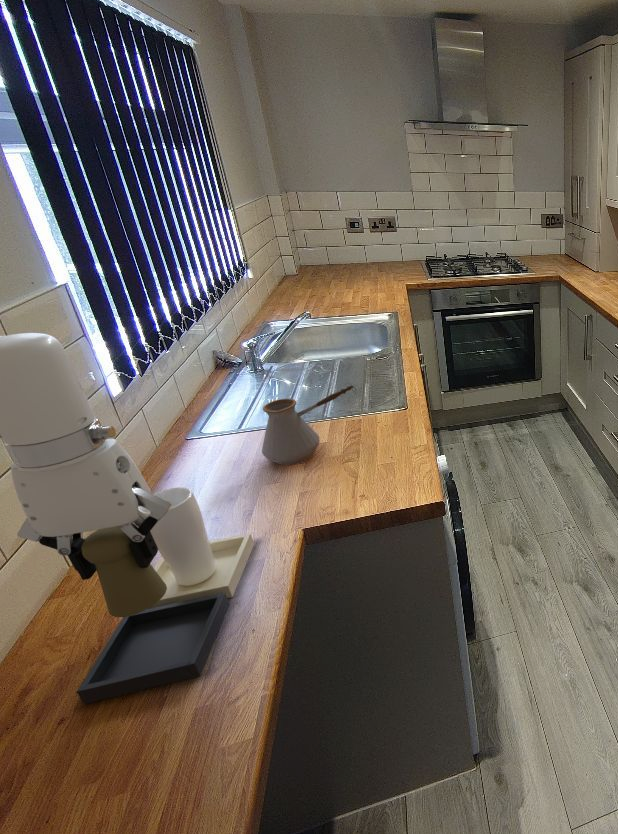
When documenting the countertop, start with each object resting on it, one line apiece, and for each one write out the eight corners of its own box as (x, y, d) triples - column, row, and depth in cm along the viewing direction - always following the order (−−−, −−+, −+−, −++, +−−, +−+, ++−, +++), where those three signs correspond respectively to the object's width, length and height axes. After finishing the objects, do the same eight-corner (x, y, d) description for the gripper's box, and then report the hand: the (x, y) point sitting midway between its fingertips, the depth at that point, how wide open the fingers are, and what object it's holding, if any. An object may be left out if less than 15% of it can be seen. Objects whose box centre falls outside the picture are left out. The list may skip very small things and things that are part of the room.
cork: (142, 617, 66) (107, 549, 62) (95, 617, 66) (57, 549, 62) (178, 581, 72) (148, 516, 67) (134, 581, 72) (102, 516, 67)
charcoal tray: (84, 704, 66) (75, 691, 65) (131, 625, 77) (125, 613, 76) (200, 675, 69) (194, 663, 68) (229, 604, 80) (225, 592, 79)
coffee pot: (260, 473, 112) (239, 411, 106) (270, 447, 122) (252, 389, 116) (367, 454, 119) (353, 395, 113) (369, 431, 129) (356, 375, 122)
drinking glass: (217, 554, 89) (188, 481, 83) (227, 575, 85) (196, 499, 78) (168, 575, 85) (133, 499, 79) (176, 598, 80) (139, 520, 74)
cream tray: (135, 618, 78) (129, 606, 77) (170, 560, 89) (165, 549, 88) (232, 597, 81) (227, 585, 80) (254, 544, 92) (250, 533, 91)
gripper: (162, 416, 65) (209, 533, 72) (-14, 439, 60) (56, 561, 68) (133, 446, 58) (188, 571, 66) (-67, 474, 53) (17, 605, 61)
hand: (121, 564), depth 67 cm, fingers closed on cork, 5 cm apart
